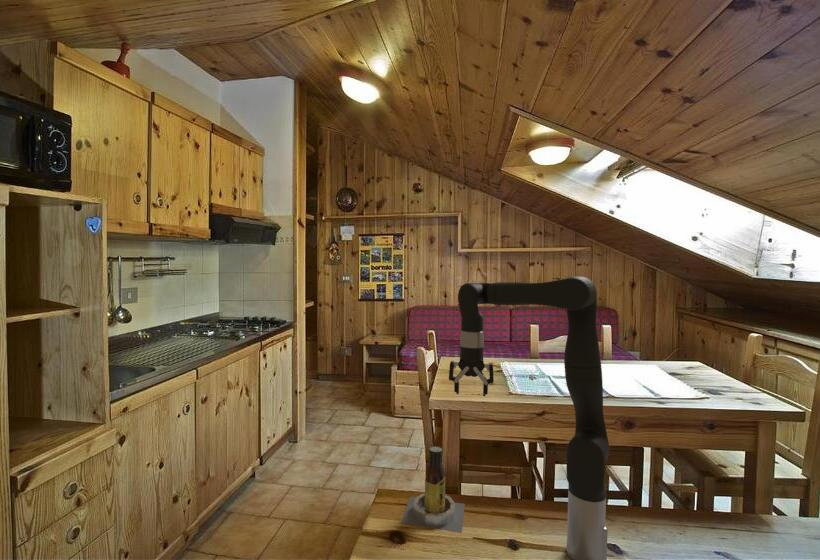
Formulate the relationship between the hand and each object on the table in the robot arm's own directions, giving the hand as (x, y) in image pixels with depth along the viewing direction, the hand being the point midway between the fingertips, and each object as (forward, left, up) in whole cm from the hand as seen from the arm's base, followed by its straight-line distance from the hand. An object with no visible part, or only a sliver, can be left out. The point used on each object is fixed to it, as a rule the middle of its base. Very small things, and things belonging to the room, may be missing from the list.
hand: (470, 394), depth 126 cm
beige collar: (+10, +9, -35) cm, 37 cm away
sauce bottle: (+10, +9, -35) cm, 38 cm away
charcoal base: (+10, +9, -36) cm, 39 cm away
